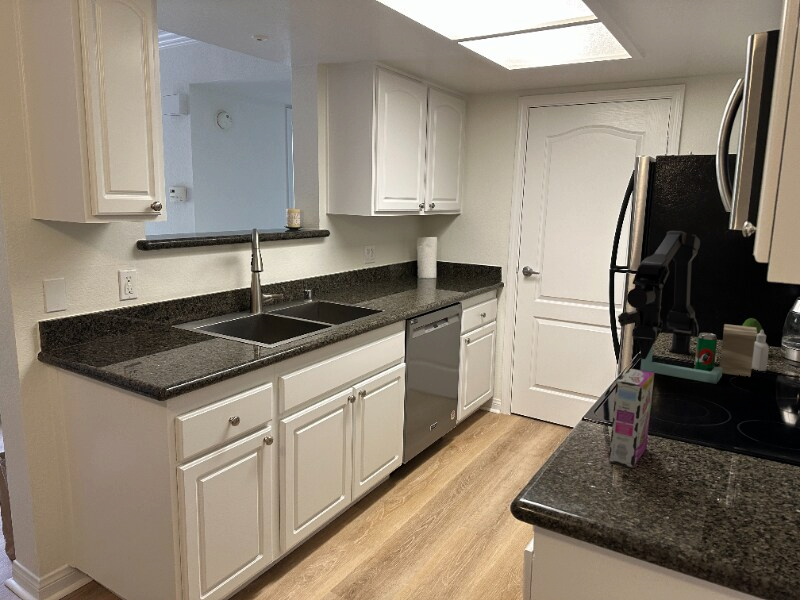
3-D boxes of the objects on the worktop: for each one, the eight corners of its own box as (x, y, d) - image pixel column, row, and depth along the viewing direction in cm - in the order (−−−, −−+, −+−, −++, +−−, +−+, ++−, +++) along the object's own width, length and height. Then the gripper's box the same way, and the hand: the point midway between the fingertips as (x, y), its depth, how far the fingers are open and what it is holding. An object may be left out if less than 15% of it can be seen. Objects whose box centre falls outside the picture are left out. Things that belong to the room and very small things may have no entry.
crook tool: (648, 363, 181) (650, 338, 180) (721, 376, 169) (724, 349, 168) (640, 370, 174) (642, 344, 172) (716, 383, 162) (719, 355, 160)
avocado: (738, 355, 192) (742, 319, 190) (732, 349, 200) (736, 315, 198) (765, 357, 190) (770, 321, 188) (758, 351, 197) (763, 316, 195)
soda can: (717, 376, 169) (721, 336, 167) (702, 377, 168) (706, 336, 165) (704, 371, 174) (708, 332, 171) (689, 372, 172) (693, 332, 170)
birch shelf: (719, 371, 173) (724, 324, 171) (750, 376, 169) (756, 327, 167) (718, 378, 166) (723, 329, 164) (750, 383, 162) (757, 332, 160)
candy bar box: (635, 469, 110) (642, 386, 107) (608, 462, 113) (614, 381, 110) (648, 449, 119) (655, 371, 116) (623, 443, 122) (629, 367, 119)
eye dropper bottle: (749, 369, 175) (753, 331, 173) (749, 365, 180) (753, 327, 178) (766, 372, 173) (771, 332, 171) (765, 367, 178) (770, 329, 176)
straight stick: (709, 361, 186) (710, 355, 185) (716, 362, 184) (716, 356, 184) (694, 366, 180) (694, 360, 179) (700, 368, 178) (701, 361, 178)
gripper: (626, 296, 183) (622, 345, 185) (615, 306, 167) (611, 358, 169) (665, 300, 177) (660, 349, 180) (657, 310, 161) (652, 364, 164)
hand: (645, 355), depth 173 cm, fingers open, 9 cm apart
